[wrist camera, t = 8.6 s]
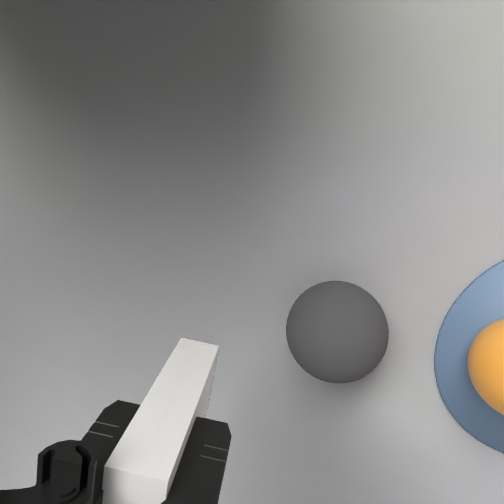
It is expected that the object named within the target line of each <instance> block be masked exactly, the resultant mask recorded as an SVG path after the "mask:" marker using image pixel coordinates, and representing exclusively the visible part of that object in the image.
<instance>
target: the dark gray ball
mask: <svg viewBox="0 0 504 504" xmlns="http://www.w3.org/2000/svg"><path fill="white" fill-rule="evenodd" d="M388 334H389V333H388V324H387V320H386V317H385V314H384V312H383V310H382V308H381V306H380V305H379V304H378V302H377V301H376V300H375V299H374V298H373V297H372V295H370V294H369V293H368V292H367V291H365V290H364V289H362V288H361V287H358V286H356V285H354V284H351V283H347V282H342V281H329V282H323V283H320V284H317V285H315V286H313V287H311V288H309V289H308V290H306V291H305V292H304V293H303V294H301V295H300V296H299V298H298V299H297V300H296V301H295V303H294V304H293V306H292V308H291V310H290V312H289V315H288V319H287V325H286V335H287V341H288V345H289V348H290V351H291V353H292V355H293V357H294V358H295V360H296V361H297V362H298V364H299V365H300V366H301V367H302V368H303V369H304V370H305V371H306V372H308V373H309V374H311V375H312V376H314V377H316V378H318V379H320V380H323V381H327V382H332V383H347V382H352V381H355V380H358V379H360V378H362V377H364V376H366V375H367V374H369V373H370V372H371V371H372V370H373V369H374V368H376V366H377V365H378V364H379V363H380V361H381V359H382V357H383V356H384V354H385V351H386V348H387V343H388Z"/></svg>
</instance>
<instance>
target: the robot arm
mask: <svg viewBox="0 0 504 504" xmlns="http://www.w3.org/2000/svg"><path fill="white" fill-rule="evenodd" d="M218 349H219V346H218V345H213V344H208V343H204V342H199V341H194V340H190V339H185V338H181V339H180V340H179V342H178V344H177V345H176V347H175V349H174V350H173V352H172V354H171V355H170V357H169V359H168V360H167V362H166V364H165V365H164V367H163V369H162V370H161V372H160V374H159V375H158V377H157V379H156V380H155V382H154V384H153V385H152V387H151V389H150V390H149V392H148V394H147V395H146V397H145V399H144V400H143V402H142V404H141V405H138V404H134V403H129V402H125V401H120V400H117V401H116V402H114V403H113V404H111V405H109V406H108V407H106V408H105V409H104V410H103V411H102V413H101V414H100V415H99V417H98V418H97V420H96V422H95V423H94V424H93V425H92V426H91V428H90V429H89V431H88V433H86V435H85V436H84V437H83V439H82V440H81V441H76V440H67V441H61V442H57V443H55V444H53V445H50V446H48V447H46V448H45V449H44V450H43V451H42V452H40V453H39V454H38V464H37V482H36V485H35V486H33V487H30V488H23V489H12V490H0V504H218V500H219V495H220V490H221V485H222V481H223V476H224V471H225V466H226V461H227V456H228V451H229V446H230V441H231V433H230V430H229V427H228V424H227V423H224V422H219V421H215V420H211V419H206V418H205V415H206V412H207V409H208V406H209V400H210V394H211V389H212V383H213V377H214V372H215V366H216V361H217V355H218Z"/></svg>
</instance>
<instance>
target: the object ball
mask: <svg viewBox="0 0 504 504" xmlns="http://www.w3.org/2000/svg"><path fill="white" fill-rule="evenodd" d="M467 363H468V372H469V376H470V379H471V381H472V384H473V386H474V388H475V389H476V391H477V392H478V394H479V395H480V396H481V398H482V399H483V400H484V401H485V402H486V403H487V404H488V405H489V406H490V407H492V408H493V409H494V410H496V411H497V412H499V413H500V414H502V415H504V319H501V320H498V321H495V322H493V323H491V324H490V325H488V326H486V327H485V328H484V329H483V330H481V331H480V332H479V333H478V335H477V336H476V337H475V339H474V340H473V342H472V344H471V346H470V349H469V353H468V362H467Z"/></svg>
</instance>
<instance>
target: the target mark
mask: <svg viewBox="0 0 504 504" xmlns="http://www.w3.org/2000/svg"><path fill="white" fill-rule="evenodd" d="M501 319H504V260H503V261H502V262H500V263H498V264H496V265H495V266H493V267H491V268H490V269H488V270H487V271H486V272H484V273H483V274H482V275H480V276H479V277H478V278H476V279H475V280H474V281H473V282H472V283H471V284H470V285H469V286H468V287H467V288H466V289H465V290H464V291H463V292H462V293H461V295H460V296H459V297H458V298H457V300H456V301H455V302H454V304H453V305H452V307H451V308H450V310H449V312H448V313H447V315H446V317H445V319H444V321H443V324H442V326H441V328H440V331H439V335H438V338H437V342H436V348H435V356H434V359H435V374H436V380H437V385H438V388H439V390H440V393H441V396H442V398H443V400H444V402H445V404H446V406H447V408H448V409H449V411H450V412H451V414H452V415H453V416H454V418H455V419H456V420H457V422H458V423H459V424H460V425H461V426H462V427H463V428H464V429H465V430H466V431H467V432H469V433H470V434H471V435H472V436H474V437H475V438H476V439H478V440H479V441H481V442H483V443H484V444H486V445H488V446H490V447H492V448H494V449H496V450H498V451H501V452H503V453H504V415H502V414H500V413H499V412H497V411H496V410H494V409H493V408H492V407H490V406H489V405H488V404H487V403H486V402H485V401H484V400H483V399H482V398H481V396H480V395H479V394H478V392H477V391H476V389H475V388H474V386H473V384H472V381H471V379H470V376H469V372H468V363H467V362H468V353H469V349H470V346H471V344H472V342H473V340H474V339H475V337H476V336H477V335H478V333H479V332H480V331H481V330H483V329H484V328H485V327H486V326H488V325H490V324H491V323H493V322H495V321H498V320H501Z"/></svg>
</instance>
